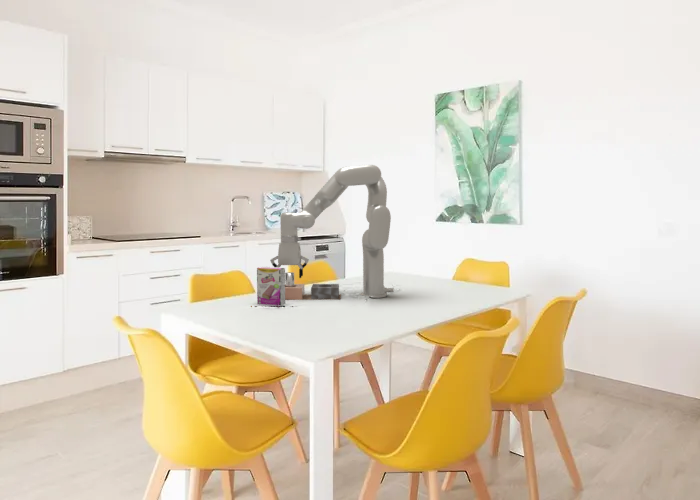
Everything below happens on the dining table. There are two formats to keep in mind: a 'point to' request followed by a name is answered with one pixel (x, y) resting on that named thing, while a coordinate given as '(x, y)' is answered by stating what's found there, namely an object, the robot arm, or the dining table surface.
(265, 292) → the candy bar box
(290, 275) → the pin
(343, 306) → the dining table surface
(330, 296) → the mount board
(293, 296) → the socket block
